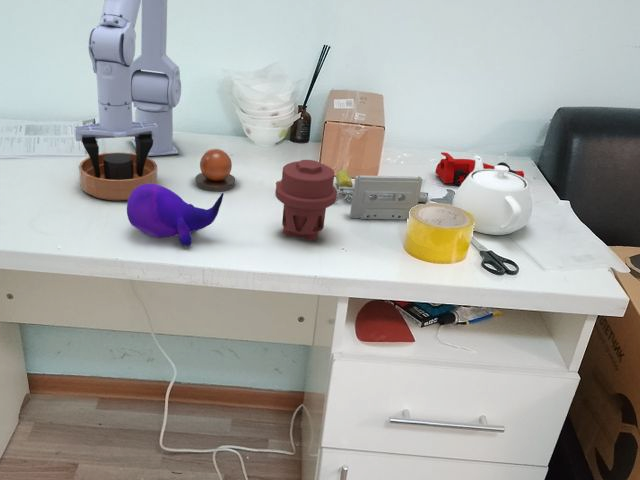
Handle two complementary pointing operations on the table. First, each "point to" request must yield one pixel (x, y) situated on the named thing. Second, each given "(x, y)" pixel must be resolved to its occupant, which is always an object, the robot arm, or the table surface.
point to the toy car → (461, 169)
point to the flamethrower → (347, 188)
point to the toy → (167, 213)
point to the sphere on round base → (215, 171)
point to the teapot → (495, 199)
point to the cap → (118, 166)
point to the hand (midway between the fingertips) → (118, 176)
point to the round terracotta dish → (115, 187)
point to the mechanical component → (305, 197)
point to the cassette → (384, 207)
